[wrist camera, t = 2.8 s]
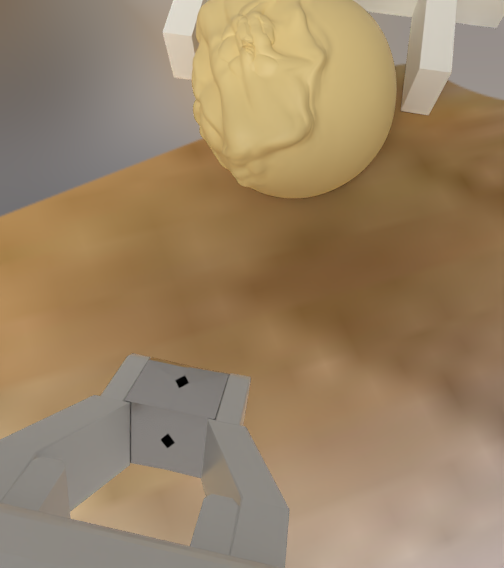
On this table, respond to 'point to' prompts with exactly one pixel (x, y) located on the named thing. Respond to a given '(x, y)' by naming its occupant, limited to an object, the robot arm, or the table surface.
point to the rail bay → (410, 3)
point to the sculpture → (292, 92)
